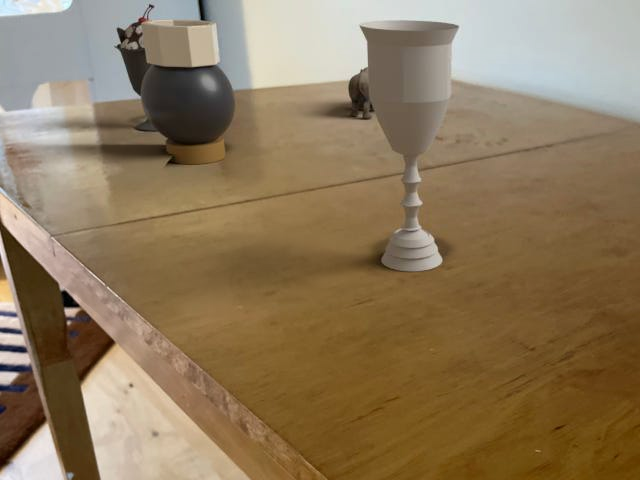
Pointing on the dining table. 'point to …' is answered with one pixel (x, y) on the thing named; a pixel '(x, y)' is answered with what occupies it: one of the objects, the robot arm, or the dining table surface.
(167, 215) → the dining table surface
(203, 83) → the ball
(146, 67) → the sundae
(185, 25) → the ring
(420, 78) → the chalice
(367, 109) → the rhino figurine
